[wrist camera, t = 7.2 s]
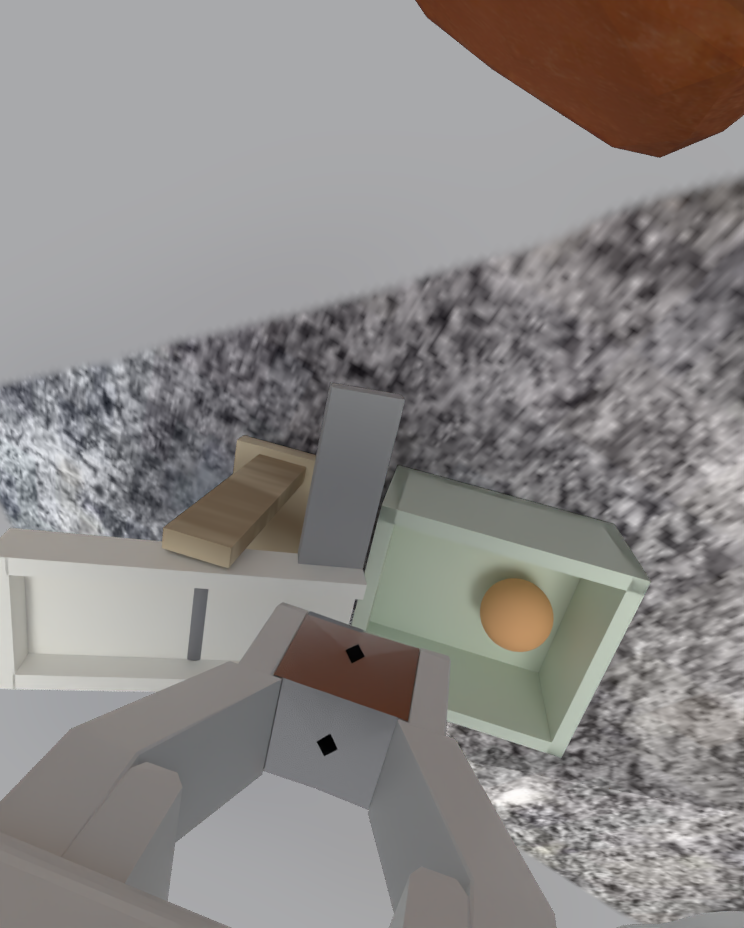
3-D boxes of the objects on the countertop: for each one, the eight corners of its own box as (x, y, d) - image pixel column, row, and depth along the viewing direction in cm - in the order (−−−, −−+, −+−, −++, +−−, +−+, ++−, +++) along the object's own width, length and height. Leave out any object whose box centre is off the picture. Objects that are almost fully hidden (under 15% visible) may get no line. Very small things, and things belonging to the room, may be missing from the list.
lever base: (308, 594, 33) (238, 727, 23) (226, 569, 34) (122, 688, 24) (336, 460, 30) (267, 547, 19) (244, 435, 30) (130, 506, 20)
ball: (553, 661, 28) (500, 673, 26) (508, 614, 31) (458, 622, 29) (579, 605, 26) (524, 613, 24) (529, 562, 30) (478, 566, 28)
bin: (544, 677, 32) (561, 757, 26) (358, 619, 33) (335, 685, 28) (614, 524, 28) (651, 581, 22) (397, 464, 29) (381, 505, 23)
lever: (333, 664, 26) (337, 697, 24) (18, 653, 22) (-7, 690, 20) (400, 394, 20) (412, 408, 19) (-1, 323, 17) (-36, 331, 15)
